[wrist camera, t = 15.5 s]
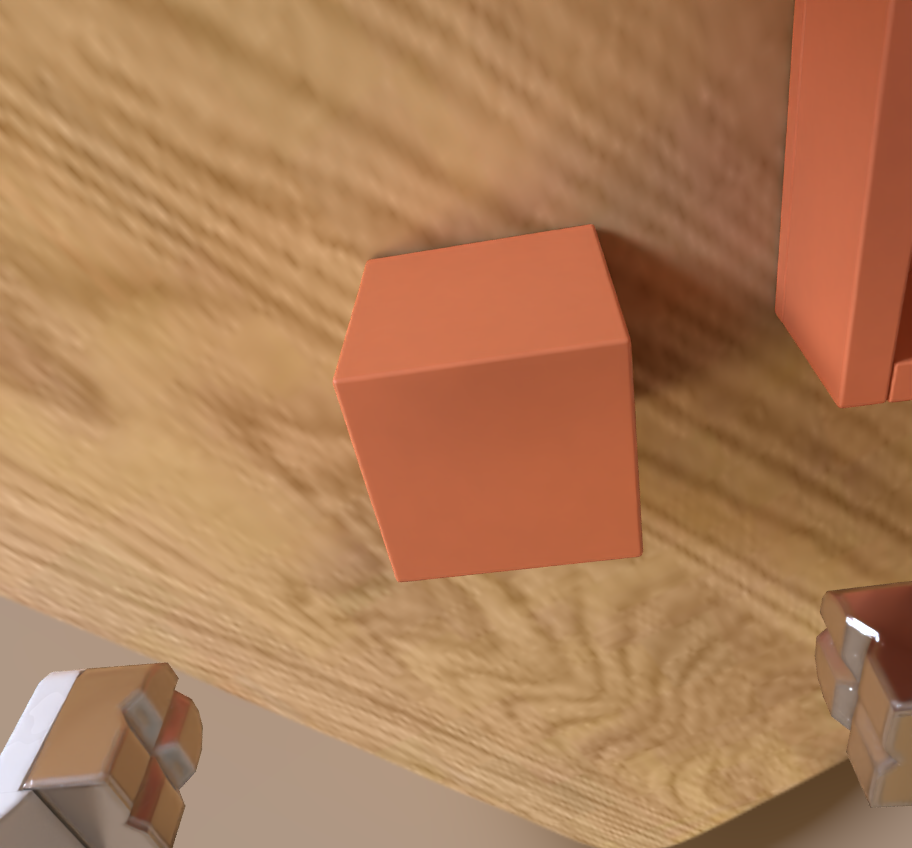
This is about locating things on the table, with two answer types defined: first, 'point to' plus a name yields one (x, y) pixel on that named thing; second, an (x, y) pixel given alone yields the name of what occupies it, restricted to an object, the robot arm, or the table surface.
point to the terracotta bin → (850, 198)
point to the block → (494, 406)
